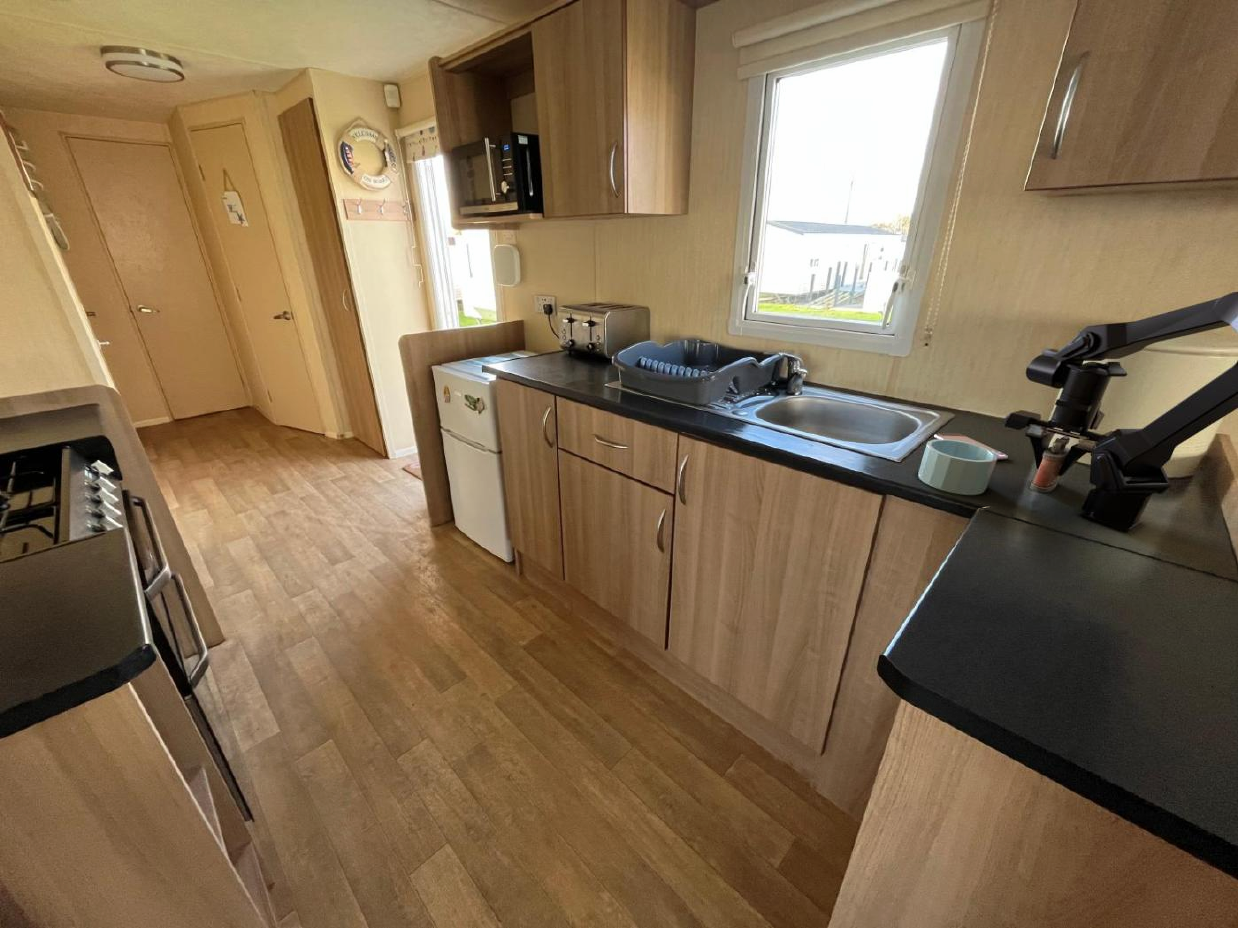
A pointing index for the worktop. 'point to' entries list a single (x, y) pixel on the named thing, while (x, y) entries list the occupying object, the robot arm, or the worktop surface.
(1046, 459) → the lighter
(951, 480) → the pale green round tub
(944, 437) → the mobile phone
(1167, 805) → the worktop surface
